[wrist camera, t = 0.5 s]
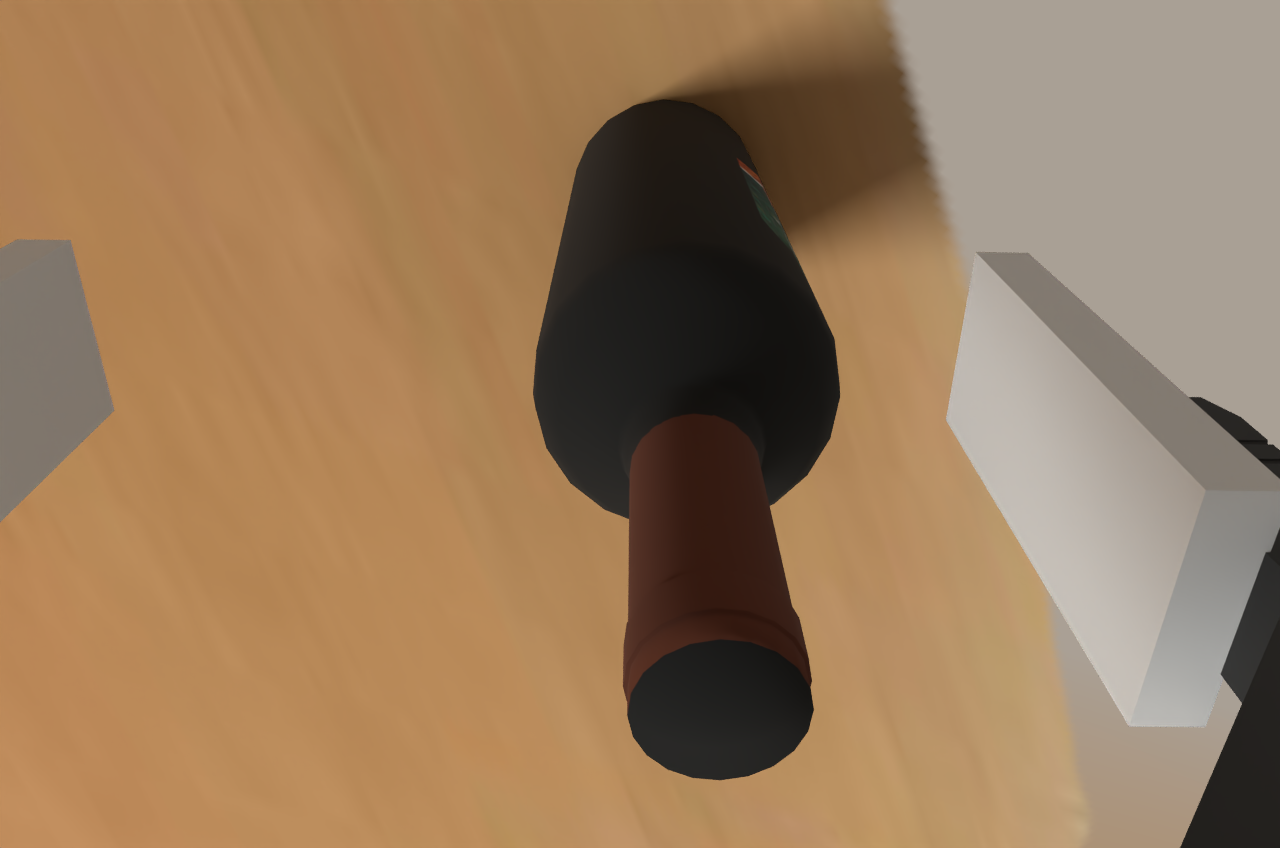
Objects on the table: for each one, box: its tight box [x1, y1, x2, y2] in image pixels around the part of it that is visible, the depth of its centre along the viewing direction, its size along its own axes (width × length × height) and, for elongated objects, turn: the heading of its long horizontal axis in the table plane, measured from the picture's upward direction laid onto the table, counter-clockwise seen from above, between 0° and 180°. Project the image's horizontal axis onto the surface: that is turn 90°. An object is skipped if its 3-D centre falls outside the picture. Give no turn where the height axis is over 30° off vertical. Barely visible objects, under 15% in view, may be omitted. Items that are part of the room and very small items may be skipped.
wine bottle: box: [533, 100, 840, 780], centre depth 28 cm, size 8×8×30 cm
